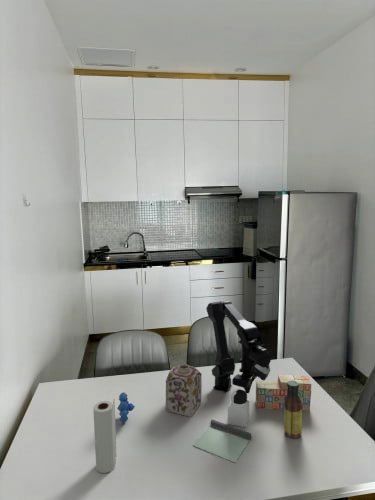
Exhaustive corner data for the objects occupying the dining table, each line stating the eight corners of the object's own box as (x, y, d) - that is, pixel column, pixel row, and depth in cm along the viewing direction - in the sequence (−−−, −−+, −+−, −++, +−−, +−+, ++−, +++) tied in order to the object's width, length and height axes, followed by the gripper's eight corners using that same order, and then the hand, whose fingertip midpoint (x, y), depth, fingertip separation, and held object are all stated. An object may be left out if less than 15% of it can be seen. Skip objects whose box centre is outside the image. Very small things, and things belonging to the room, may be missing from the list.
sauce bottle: (302, 431, 134) (305, 381, 131) (300, 441, 128) (302, 389, 125) (284, 426, 137) (286, 377, 134) (281, 436, 131) (283, 385, 128)
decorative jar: (165, 411, 146) (164, 369, 144) (176, 396, 157) (176, 357, 154) (192, 418, 142) (192, 375, 139) (202, 402, 152) (202, 362, 150)
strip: (210, 425, 137) (210, 421, 137) (212, 423, 138) (212, 419, 138) (250, 439, 129) (250, 435, 129) (251, 437, 130) (251, 433, 130)
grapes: (135, 430, 134) (134, 400, 133) (117, 432, 133) (116, 402, 132) (134, 412, 146) (134, 384, 144) (117, 413, 145) (117, 386, 143)
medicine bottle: (249, 417, 142) (249, 388, 141) (246, 428, 136) (246, 398, 134) (231, 413, 145) (231, 385, 143) (227, 424, 138) (227, 395, 136)
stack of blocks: (256, 408, 148) (257, 380, 146) (255, 400, 154) (256, 373, 152) (310, 411, 146) (311, 383, 144) (306, 403, 152) (308, 375, 150)
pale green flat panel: (193, 445, 126) (193, 445, 126) (208, 427, 136) (208, 426, 136) (235, 463, 118) (235, 462, 118) (248, 441, 128) (248, 441, 128)
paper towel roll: (97, 476, 112) (95, 413, 109) (94, 463, 118) (91, 402, 115) (120, 469, 115) (118, 407, 112) (116, 456, 121) (114, 397, 118)
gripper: (259, 371, 132) (258, 410, 135) (275, 352, 148) (274, 387, 151) (231, 364, 138) (231, 401, 140) (249, 346, 154) (249, 380, 156)
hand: (247, 392), depth 147 cm, fingers closed
